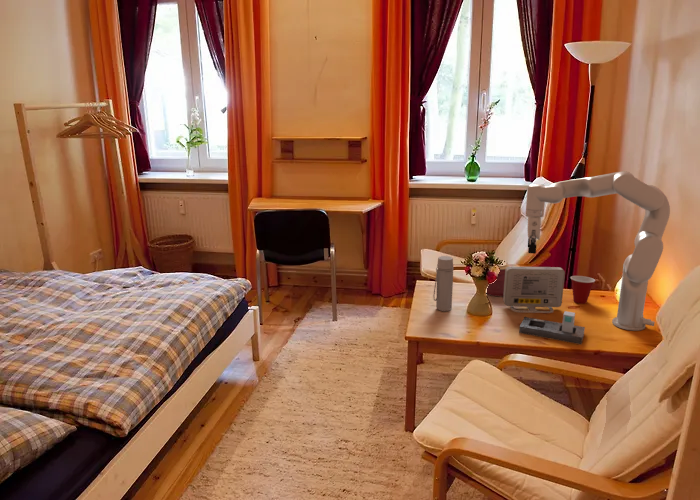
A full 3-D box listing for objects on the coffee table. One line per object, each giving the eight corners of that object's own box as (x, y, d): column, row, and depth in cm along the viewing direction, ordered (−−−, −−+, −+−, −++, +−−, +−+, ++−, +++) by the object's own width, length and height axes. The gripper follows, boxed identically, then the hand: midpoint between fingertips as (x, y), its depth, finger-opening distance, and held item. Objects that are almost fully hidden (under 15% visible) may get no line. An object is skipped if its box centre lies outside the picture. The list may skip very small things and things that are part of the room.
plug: (572, 335, 211) (575, 312, 208) (571, 339, 207) (573, 317, 204) (562, 333, 213) (564, 311, 210) (560, 337, 209) (563, 315, 206)
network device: (557, 306, 241) (561, 265, 236) (562, 313, 233) (567, 271, 228) (501, 304, 244) (504, 264, 239) (505, 312, 236) (508, 270, 230)
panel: (583, 333, 212) (584, 326, 211) (581, 344, 203) (582, 337, 202) (524, 323, 223) (524, 316, 223) (519, 332, 214) (519, 325, 213)
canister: (487, 286, 269) (489, 254, 264) (512, 290, 263) (514, 257, 258) (479, 293, 258) (481, 260, 254) (505, 298, 252) (508, 264, 247)
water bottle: (446, 305, 245) (448, 255, 238) (454, 311, 238) (457, 259, 231) (429, 307, 242) (430, 257, 235) (437, 313, 235) (439, 261, 228)
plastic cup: (593, 299, 248) (596, 276, 245) (590, 307, 239) (593, 283, 236) (569, 296, 254) (572, 273, 250) (566, 303, 245) (568, 279, 242)
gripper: (544, 217, 215) (541, 256, 219) (542, 209, 231) (539, 245, 235) (526, 216, 217) (523, 255, 222) (525, 208, 233) (522, 244, 237)
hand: (531, 250), depth 228 cm, fingers open, 9 cm apart
